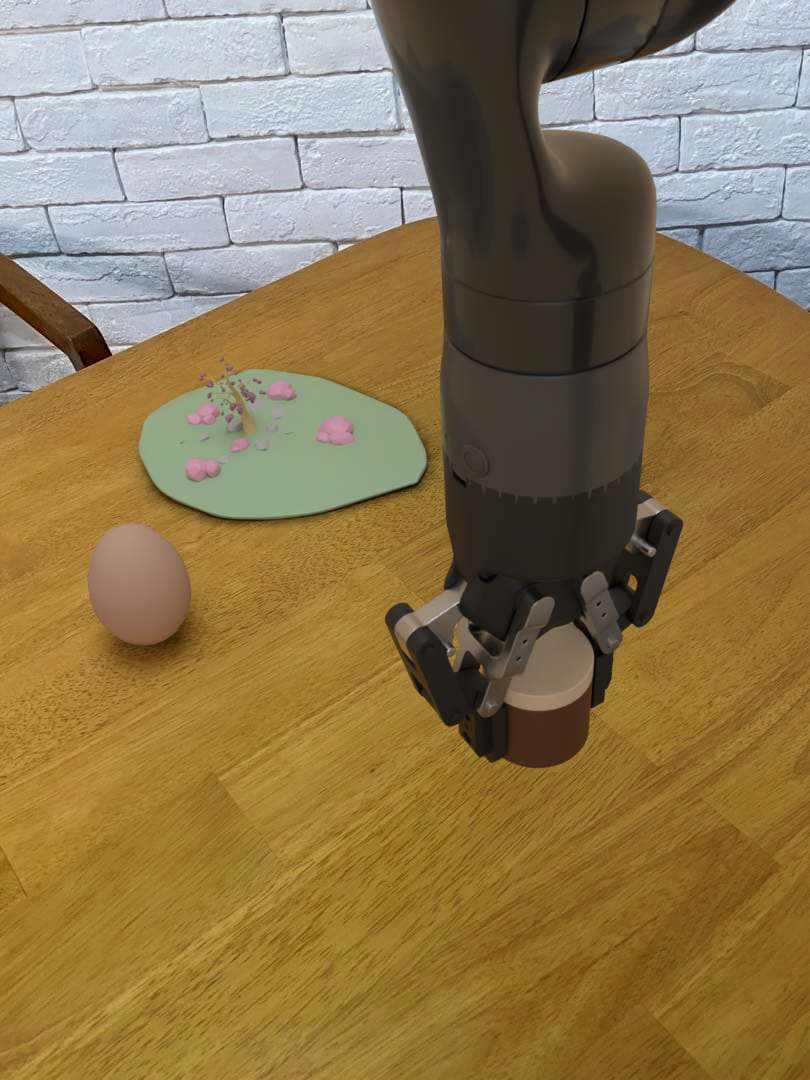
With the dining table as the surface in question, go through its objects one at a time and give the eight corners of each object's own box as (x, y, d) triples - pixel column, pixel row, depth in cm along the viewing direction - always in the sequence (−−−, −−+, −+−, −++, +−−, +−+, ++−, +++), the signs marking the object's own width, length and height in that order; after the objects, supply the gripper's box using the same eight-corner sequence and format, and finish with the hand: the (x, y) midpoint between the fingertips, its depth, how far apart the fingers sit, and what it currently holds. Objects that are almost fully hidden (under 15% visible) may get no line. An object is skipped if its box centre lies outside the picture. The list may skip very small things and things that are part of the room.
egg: (111, 605, 83) (78, 503, 77) (203, 595, 83) (178, 493, 77) (100, 674, 78) (64, 571, 72) (199, 663, 78) (171, 559, 72)
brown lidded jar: (610, 737, 53) (617, 664, 49) (523, 786, 51) (524, 714, 48) (546, 671, 56) (548, 599, 53) (462, 715, 54) (459, 643, 51)
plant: (442, 379, 103) (438, 290, 97) (417, 526, 88) (411, 432, 82) (177, 375, 106) (158, 289, 100) (109, 517, 91) (81, 425, 85)
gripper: (627, 325, 47) (605, 613, 58) (325, 446, 42) (364, 736, 53) (758, 408, 42) (706, 706, 53) (433, 557, 37) (451, 851, 48)
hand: (535, 720), depth 53 cm, fingers closed on brown lidded jar, 5 cm apart
